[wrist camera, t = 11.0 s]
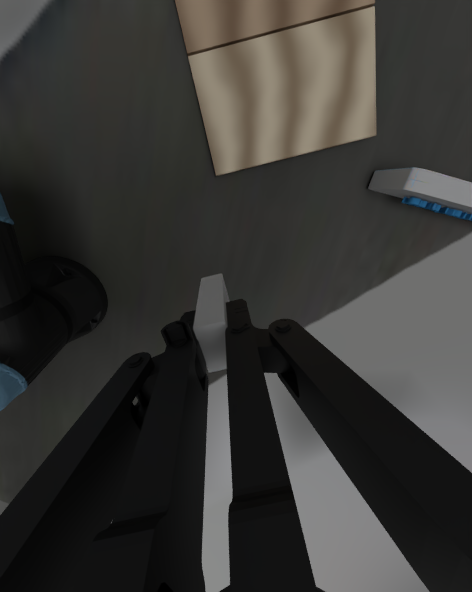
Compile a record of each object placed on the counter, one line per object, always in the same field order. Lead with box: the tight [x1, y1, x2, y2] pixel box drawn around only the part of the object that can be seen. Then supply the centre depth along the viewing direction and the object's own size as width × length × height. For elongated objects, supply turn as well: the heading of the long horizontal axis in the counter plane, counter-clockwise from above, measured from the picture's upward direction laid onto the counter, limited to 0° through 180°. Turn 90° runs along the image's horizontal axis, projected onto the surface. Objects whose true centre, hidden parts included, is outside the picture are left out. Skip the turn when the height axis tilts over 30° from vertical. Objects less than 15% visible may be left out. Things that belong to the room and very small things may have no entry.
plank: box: [188, 6, 376, 176], centre depth 34 cm, size 24×14×1 cm, turn 103°
